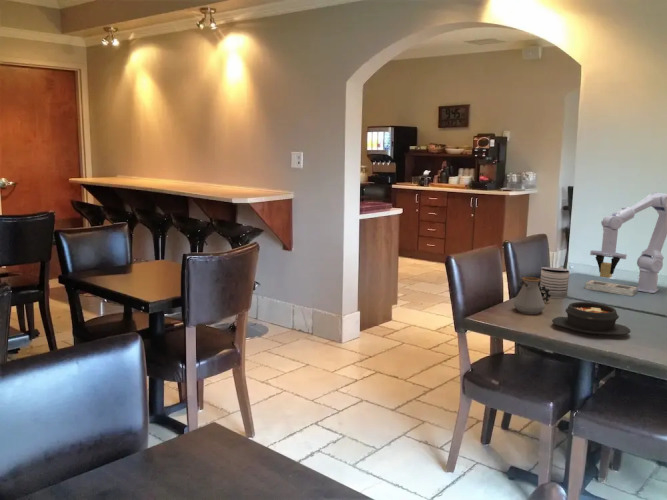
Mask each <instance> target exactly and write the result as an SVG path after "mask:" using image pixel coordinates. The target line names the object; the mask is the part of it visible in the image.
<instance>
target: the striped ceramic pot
mask: <svg viewBox="0 0 667 500" xmlns="http://www.w3.org/2000/svg"><path fill="white" fill-rule="evenodd" d="M569 280H570V269H567V268H561V267H548V266H546V267H545V266H544V267H543V266H542V267H541V271H540V281H539V287H540V288H541V289H543V288H542V287H543V286H545V287H546V288H545V290H547V289H549V290H550V291H549V292H548V294H550V295H551V297H548V299H550V298H551V299H565V298H567V297H568V289H569ZM541 292H544V293H546V292H545V291H543V290H542V291H541ZM546 296H547V294H545V296H544V298H546Z"/></svg>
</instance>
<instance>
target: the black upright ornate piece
mask: <svg viewBox="0 0 667 500" xmlns="http://www.w3.org/2000/svg"><path fill="white" fill-rule="evenodd" d="M538 287H539V289H540V292H541V291H542V290H543V291H545V292H546V293H544V292H541V295H542V298H543V301H544V302H549V301H550V298H549V297H551V295H550V294H548V292H549V291H550V290H549V289H547V290H545V288H546V287H545V286H543V287H542V288H543V289H541V288H540V286H538ZM545 294H547V296H546V297H545Z"/></svg>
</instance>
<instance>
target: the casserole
mask: <svg viewBox="0 0 667 500" xmlns="http://www.w3.org/2000/svg"><path fill="white" fill-rule="evenodd" d="M565 313H566V315H567V316H557V317H555V318H553V319H551V320H552V321H551V322H552V323H553V324H554V325H556V326H558V327H562V328H567V329H570V330H573V331H574V332H576V333H577V332H578V333H580V334H585V335H588V336H590V335H591V336H605V335H606V336H607V335H615V336H616V335H617V336H625V335H629V334H630V333H631V329H630V328H629V327H628V326H626V325H622V324H619V323H616V322H617V320H618V319H619V318H620V316H619V315H618V313H617V310H616V309H615V308H614V307H612V306H609V305H606V304H601V303H596V302H588V301H587V302H586V301H581V302H580V301H578V302H577V301H576V302H571V303H569V304H568V306H567V307H566V308H565Z"/></svg>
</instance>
